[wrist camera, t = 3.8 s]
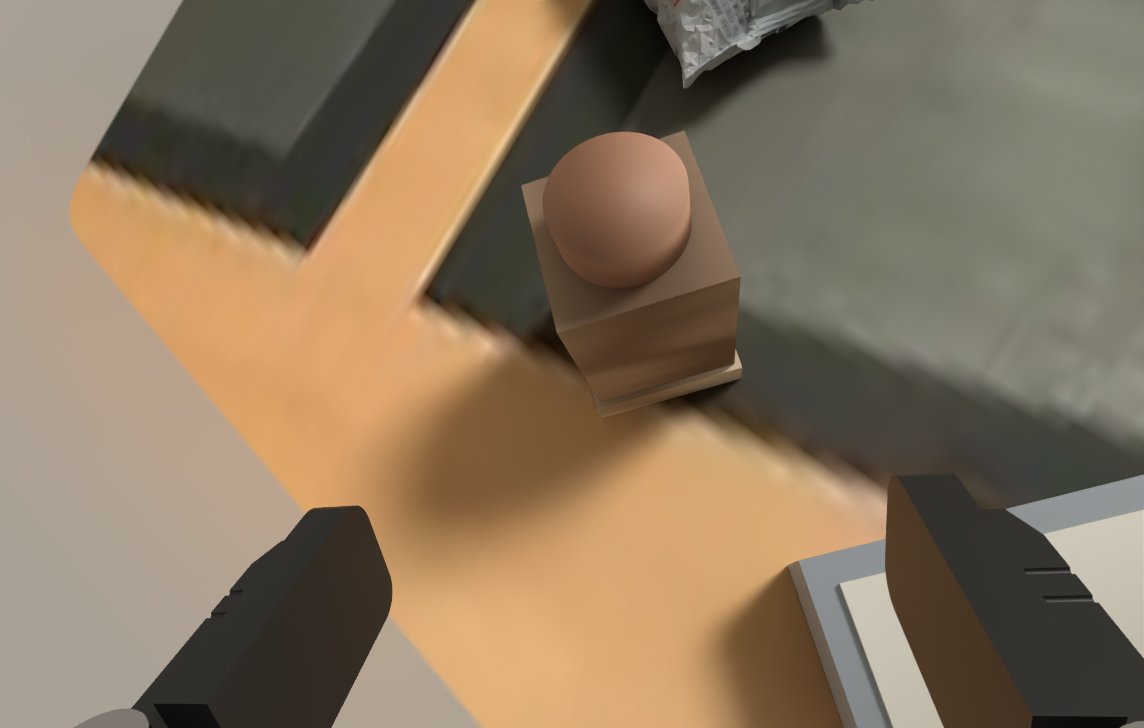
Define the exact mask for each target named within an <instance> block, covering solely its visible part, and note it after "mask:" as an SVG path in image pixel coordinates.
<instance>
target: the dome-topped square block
mask: <svg viewBox="0 0 1144 728" xmlns="http://www.w3.org/2000/svg"><path fill="white" fill-rule="evenodd" d="M522 191H523V195H524V199H525V203H526V207H527V211H528V216H529V220H530V224H531V228H532V232H533V236H534V240H535V245H536V249H537V253H538V257H539V261H540V265H541V269H542V274H543V278H544V282H545V286H546V290H547V294H548V298H549V303H550V307H551V311H552V315H553V319H554V323H555V328H556V332H557V334H558V336H559V337H560V339H561V341H562V342H563V344H564V345H565V347H566V349H567V350H568V352H569V353H570V355H571V357H572V358H573V360H574V362H575V363H576V365H577V366H578V368H579V370H580V371H581V373H582V374H583V376H584V378H585V379H586V381H587V383H588V384H589V386H590V388H591V392H592V396H593V400H594V404H595V408H596V411H597V412H598V414H599V415H600V417H601V418H605V417H609V416H612V415H616V414H619V413H623V412H626V411H630V410H633V409H636V408H640V407H643V406H647V405H650V404H654V403H657V402H661V401H664V400H668V399H671V398H675V397H678V396H682V395H685V394H689V393H692V392H696V391H699V390H703V389H706V388H710V387H713V386H717V385H720V384H724V383H727V382H731V381H734V380H738V379H741V374H742V366H741V363H740V360H739V357H738V355H737V352H736V335H737V320H738V305H739V290H740V274H739V272H738V269H737V266H736V264H735V261H734V259H733V256H732V253H731V251H730V248H729V246H728V243H727V240H726V238H725V235H724V233H723V230H722V227H721V225H720V222H719V219H718V217H717V214H716V212H715V209H714V206H713V204H712V201H711V199H710V196H709V193H708V191H707V188H706V186H705V183H704V180H703V178H702V175H701V173H700V170H699V167H698V165H697V162H696V159H695V157H694V154H693V152H692V149H691V146H690V144H689V141H688V139H687V136H686V133H685V131H681V132H678V133H676V134H673V135H670V136H667V137H664V138H661V139H656V138H654V137H652V136H649V135H645V134H641V133H635V132H614V133H608V134H604V135H600V136H597V137H594V138H592V139H589V140H587V141H585V142H583V143H581V144H579V145H578V146H576V147H575V148H573V149H572V150H571V151H569V152H568V153H567V154H566V155H565V156H564V157H563V158H562V159H561V160H560V161H559V162H558V163H557V165H556V166H555V167H554V169H553V170H552V172H551V174H550V175H549V176H548V177H545V178H542V179H539V180H536V181H533V182H530V183H527V184H524V185H522Z"/></svg>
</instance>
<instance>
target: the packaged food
mask: <svg viewBox="0 0 1144 728" xmlns="http://www.w3.org/2000/svg"><path fill="white" fill-rule="evenodd" d="M644 1H645V3H646V4H647V6H648V7H649V9H650V10H652V11H653V12H655V13H656V14H658V17H657V20H658V23H659V25H660V27H661V29H662V31H663V33H664V35H665V37H666V38H667V40H668V42H669V44H670V46H671V47H672V49H673V51H674V53H675V54H676V56H677V57H678V59H679V61H680V64H681V68H682V80H683V88H688V87H689V86H691V84H692V83H693V82H694V81H695V79H696V78H697V77H698V75H700V74H701V73H702V72H703V71H705V70H712V69H713V68H715V67H717V66H718V65H719V64H721V63H722V62H724V61H726V60H727V59H729V58H731V57H733V56H734V55H736V54H738V53H740V52H741V51H743V50H750V49H752V48H753V47H755V46H756V45H758V44H759V43H760V41H761V40H762V39H763V38H765V37H766V36H768V35H770V34H772V33H774V32H775V34H776V33H779V32H782V31H784V30H786V29H787V28H788V27H791V26H792V25H794V24H795V23H797V22H798V21H800V20H802V19H803V18H806V17H810V16H813V15H816V16H819V15H821V14H823V13H824V12H826V11H829V10H831V9H832V8H834V9H837V10H841V9H842V8H843V7H844V6H846V5H847V4H858V3H860V2H862V1H863V0H858V1H856V0H644ZM871 1H873V0H871Z"/></svg>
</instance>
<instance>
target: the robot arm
mask: <svg viewBox="0 0 1144 728" xmlns="http://www.w3.org/2000/svg"><path fill="white" fill-rule="evenodd" d="M885 572H886V580H887V586H888V590H889V595H890V598H891V602H892V605H893V608H894V610H895V613H896V615H897V618H898V620H899V622H900V625H901V627H902V629H903V632H904V634H905V637H906V639H907V641H908V644H909V646H910V649H911V651H912V653H913V656H914V658H915V660H916V663H917V665H918V668H919V670H920V672H921V675H922V677H923V679H924V682H925V684H926V687H927V689H928V691H929V694H930V696H931V699H932V701H933V703H934V706H935V708H936V710H937V713H938V715H939V718H940V720H941V722H942V725H943V727H944V728H1144V658H1143V657H1142V656H1141V654H1140V653H1139V652H1138V651H1137V649H1136V648H1135V647H1134V646H1133V644H1132V643H1131V642H1130V641H1129V639H1128V638H1127V637H1126V636H1125V634H1124V633H1123V632H1122V631H1121V630H1120V628H1119V627H1118V626H1117V625H1116V623H1115V622H1114V621H1113V620H1112V618H1111V617H1110V616H1109V615H1108V613H1107V612H1106V611H1105V610H1104V608H1103V607H1102V606H1101V605H1100V603H1099V602H1097V603H1095V602H1094V600H1093V595H1092V594H1091V592H1090V591H1089V590H1088V589H1087V587H1086V586H1085V585H1084V584H1083V582H1082V581H1081V580H1080V579H1079V577H1078V576H1077V575H1076V574H1072V573H1071V571H1070V566H1069V565H1068V564H1067V563H1066V561H1065V560H1064V559H1063V558H1062V556H1061V555H1060V554H1059V553H1058V551H1057V550H1056V549H1055V548H1054V546H1053V545H1052V544H1051V543H1050V541H1049V540H1048V539H1047V538H1046V537H1045V535H1044V534H1042V533H1041V532H1039V531H1038V530H1036V529H1035V528H1033V527H1032V526H1030V525H1029V524H1027V523H1026V522H1024V521H1022V520H1021V519H1019V518H1018V517H1016V516H1015V515H1013V514H1012V513H1010V512H1009V511H1007V510H1006V509H987V510H981V509H980V507H979V506H978V505H977V503H976V502H975V500H974V499H973V498H972V496H971V495H970V493H969V492H968V491H967V489H966V488H965V486H964V485H963V484H962V482H961V481H960V479H959V478H958V477H957V476H956V475H955V474H953V473H938V474H920V475H903V476H892V477H891V479H890V481H889V485H888V499H887V522H886V546H885ZM391 602H392V582H391V577H390V574H389V571H388V569H387V566H386V563H385V561H384V558H383V555H382V553H381V550H380V547H379V544H378V542H377V539H376V536H375V534H374V531H373V528H372V526H371V523H370V520H369V518H368V515H367V513H366V512H365V510H364V509H363V508H361V507H360V506H340V507H323V508H313V509H311V510H309V511H308V512H307V513H306V514H305V515H304V516H303V518H302V519H301V520H300V522H299V523H298V524H297V525H296V526H295V528H294V529H293V530H292V531H291V533H290V534H289V535H288V536H287V538H286V539H285V540H284V541H281V542H280V543H278V544H277V545H276V546H274V547H273V548H272V549H271V550H269V551H268V552H267V553H265V554H264V555H263V556H261V557H260V558H259V559H258V560H256V561H255V562H254V563H252V564H251V566H250V567H249V568H248V569H247V570H246V571H245V573H244V574H243V575H242V576H241V577H240V579H239V580H238V581H237V582H236V584H235V585H234V586H233V587H232V588H231V590H230V594H229V596H225V597H224V598H223V599H222V600H221V602H220V603H219V604H218V605H217V606H216V607H215V609H214V610H213V611H212V612H211V618H207V619H205V621H204V622H203V623H202V624H201V625H200V627H199V628H198V629H197V630H196V631H195V633H194V634H193V635H192V636H191V637H190V639H189V640H188V641H187V642H186V643H185V645H184V646H183V647H182V648H181V649H180V651H179V652H178V653H177V654H176V655H175V657H174V658H173V659H172V660H171V661H170V663H169V664H168V665H167V666H166V667H165V669H164V670H163V671H162V672H161V673H160V675H159V676H158V677H157V678H156V679H155V681H154V682H153V683H152V684H151V685H150V687H149V688H148V689H147V690H146V691H145V693H144V694H143V695H142V696H141V698H140V699H139V700H138V701H137V702H136V703H135V705H134V706H133V707H132V708H131V709H118V710H113V711H110V712H107V713H103V714H100V715H98V716H95V717H93V718H91V719H89V720H87V721H85V722H83V723H81V724H79V725H77V726H76V727H74V728H331V727H332V725H333V723H334V721H335V719H336V717H337V715H338V713H339V711H340V709H341V707H342V706H343V704H344V702H345V700H346V698H347V696H348V694H349V691H350V690H351V688H352V686H353V684H354V682H355V680H356V678H357V676H358V674H359V672H360V670H361V668H362V666H363V664H364V662H365V660H366V658H367V656H368V654H369V652H370V650H371V648H372V646H373V644H374V642H375V640H376V638H377V636H378V634H379V632H380V631H381V629H382V627H383V624H384V622H385V621H386V619H387V616H388V614H389V611H390V607H391Z"/></svg>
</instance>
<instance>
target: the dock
mask: <svg viewBox="0 0 1144 728" xmlns="http://www.w3.org/2000/svg"><path fill="white" fill-rule="evenodd" d="M1006 510H1007V511H1009V512H1010V513H1012V514H1013V515H1015V516H1016V517H1018V518H1019V519H1021V520H1022V521H1024V522H1026V523H1027V524H1029V525H1030V526H1032V527H1033V528H1035V529H1036V530H1038V531H1039V532H1041V533H1042V534H1044V535H1045V537H1046V538H1047V539H1048V540H1049V541H1050V543H1051V544H1052V545H1053V546H1054V548H1055V549H1056V550H1057V551H1058V553H1059V554H1060V555H1061V556H1062V558H1063V559H1064V560H1065V561H1066V563H1067V564H1068V565H1069V566H1070V571H1071V573H1072V574H1076V575H1077V576H1078V577H1079V579H1080V580H1081V581H1082V582H1083V584H1084V585H1085V586H1086V587H1087V589H1088V590H1089V591H1090V592H1091V594H1092V595H1093V600H1094V602H1095V603H1097V602H1099V603H1100V605H1101V606H1102V607H1103V608H1104V610H1105V611H1106V612H1107V613H1108V615H1109V616H1110V617H1111V618H1112V620H1113V621H1114V622H1115V623H1116V625H1117V626H1118V627H1119V628H1120V630H1121V631H1122V632H1123V633H1124V634H1125V636H1126V637H1127V638H1128V639H1129V641H1130V642H1131V643H1132V644H1133V646H1134V647H1135V648H1136V649H1137V651H1138V652H1139V653H1140V654H1141V656H1142V657H1143V658H1144V475H1141V476H1137V477H1133V478H1129V479H1125V480H1121V481H1117V482H1113V483H1109V484H1105V485H1101V486H1097V487H1093V488H1089V489H1085V490H1081V491H1077V492H1073V493H1069V494H1065V495H1061V496H1057V497H1053V498H1049V499H1045V500H1040V501H1036V502H1032V503H1028V504H1024V505H1020V506H1016V507H1012V508H1008V509H1006ZM885 546H886V539H884V540H880V541H876V542H872V543H868V544H864V545H860V546H856V547H852V548H848V549H844V550H840V551H836V552H832V553H828V554H824V555H820V556H816V557H812V558H808V559H804V560H800V561H797V562H794V563H792V564H790V565H788V568H789V571H790V574H791V577H792V579H793V582H794V585H795V588H796V591H797V594H798V597H799V600H800V603H801V606H802V608H803V611H804V614H805V617H806V620H807V623H808V626H809V629H810V632H811V634H812V637H813V640H814V643H815V646H816V649H817V652H818V655H819V658H820V661H821V663H822V666H823V669H824V672H825V675H826V678H827V681H828V684H829V687H830V690H831V692H832V695H833V698H834V701H835V704H836V707H837V710H838V713H839V716H840V718H841V721H842V724H843V727H844V728H944V727H943V725H942V722H941V720H940V718H939V715H938V713H937V710H936V708H935V706H934V703H933V701H932V699H931V696H930V694H929V691H928V689H927V687H926V684H925V682H924V679H923V677H922V675H921V672H920V670H919V668H918V665H917V663H916V660H915V658H914V656H913V653H912V651H911V649H910V646H909V644H908V641H907V639H906V637H905V634H904V632H903V629H902V627H901V625H900V622H899V620H898V618H897V615H896V613H895V610H894V608H893V605H892V602H891V598H890V595H889V590H888V586H887V580H886V572H885Z"/></svg>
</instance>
